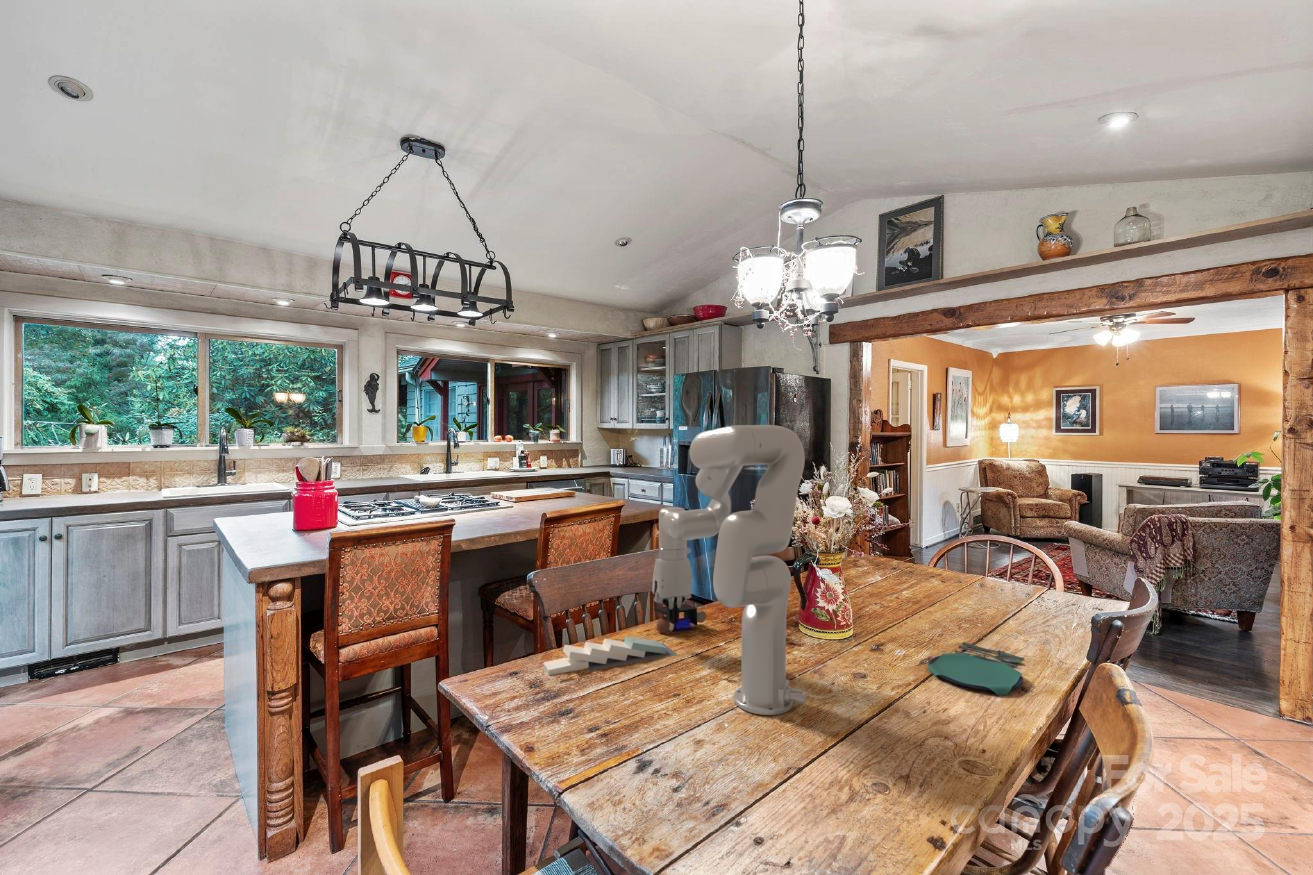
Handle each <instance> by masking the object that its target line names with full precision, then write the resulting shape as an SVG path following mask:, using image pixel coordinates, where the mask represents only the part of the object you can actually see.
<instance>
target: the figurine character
mask: <svg viewBox="0 0 1313 875" xmlns="http://www.w3.org/2000/svg"><path fill="white" fill-rule="evenodd" d="M653 611H655V612H657V613H660V614H661V615H665V616H662V617H660V618H659V619H658V620H657V623H656V628H657V631H658V632H659V633H660V634H662V635H668V634H670V633H672V632H673V631H675V630H686V629H691V630H692V629H693V630H694V629H698V628H699V626H697V625H698V623H700V624H702V623H704V622H705V621H706V619H707V613H706V612H705V611H704V610H698V608H697V607H695V606H692V605H690V604H687V603H682V604H681V607H680V608H679V614H680V613H683V617H679V619H678V623H675V624H672V623H670V622H669V621H668V620H667V607H666V606H660V607H654V608H653ZM693 625H695V626H693Z"/></svg>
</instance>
